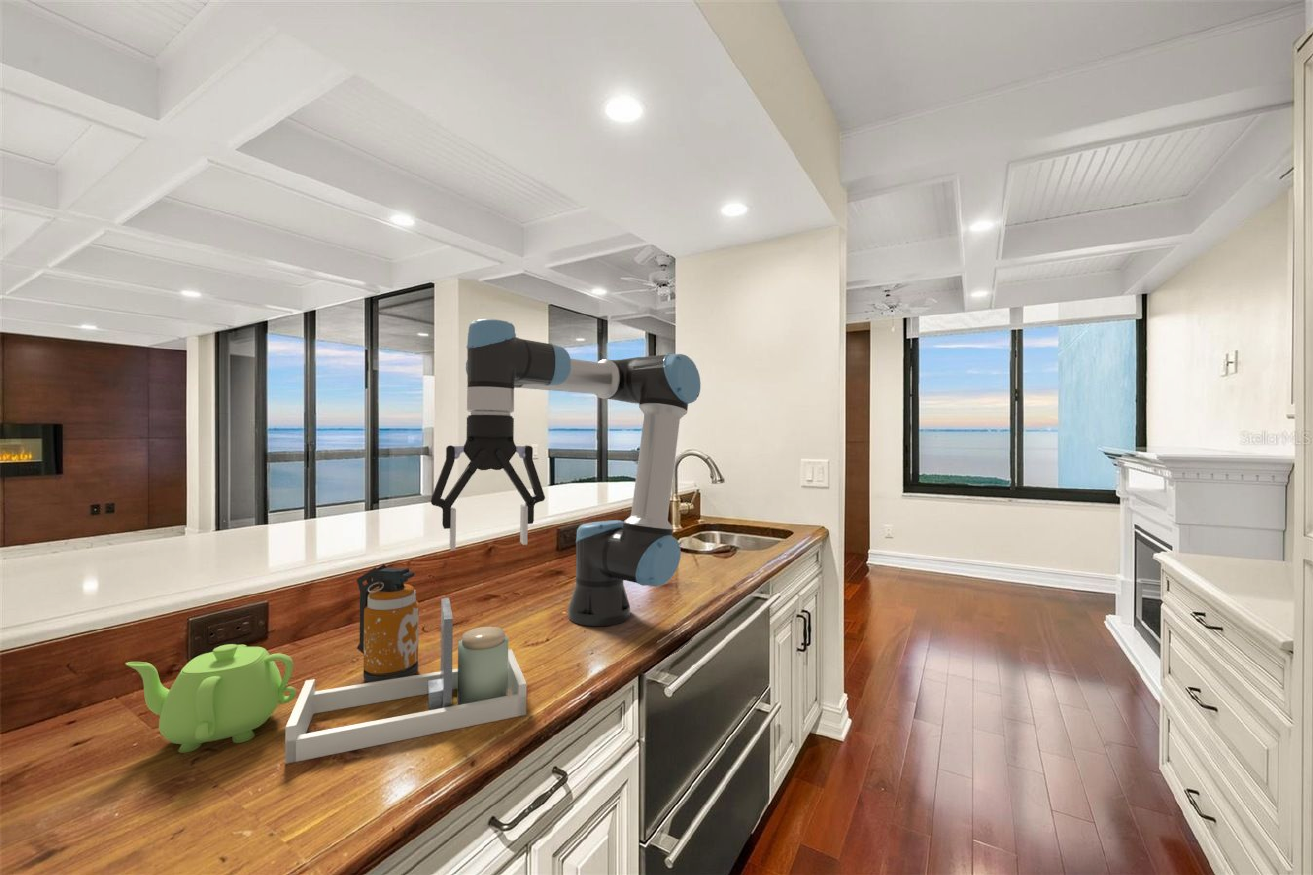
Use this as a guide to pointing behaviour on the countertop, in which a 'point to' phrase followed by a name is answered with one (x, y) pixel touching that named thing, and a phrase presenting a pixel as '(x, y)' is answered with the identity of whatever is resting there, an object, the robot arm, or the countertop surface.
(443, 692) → the panel
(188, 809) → the countertop surface
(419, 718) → the white rectangular frame
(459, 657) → the jar
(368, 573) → the canister
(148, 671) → the teapot
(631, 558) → the robot arm
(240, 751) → the countertop surface
